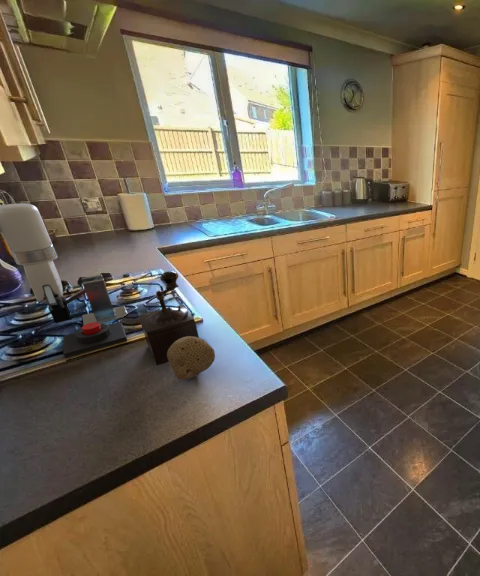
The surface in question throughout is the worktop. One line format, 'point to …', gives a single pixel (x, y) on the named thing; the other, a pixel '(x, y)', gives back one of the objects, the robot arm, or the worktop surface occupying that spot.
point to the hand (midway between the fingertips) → (63, 317)
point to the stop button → (91, 328)
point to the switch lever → (75, 295)
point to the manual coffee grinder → (167, 323)
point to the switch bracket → (100, 302)
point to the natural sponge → (190, 357)
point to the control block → (93, 340)
